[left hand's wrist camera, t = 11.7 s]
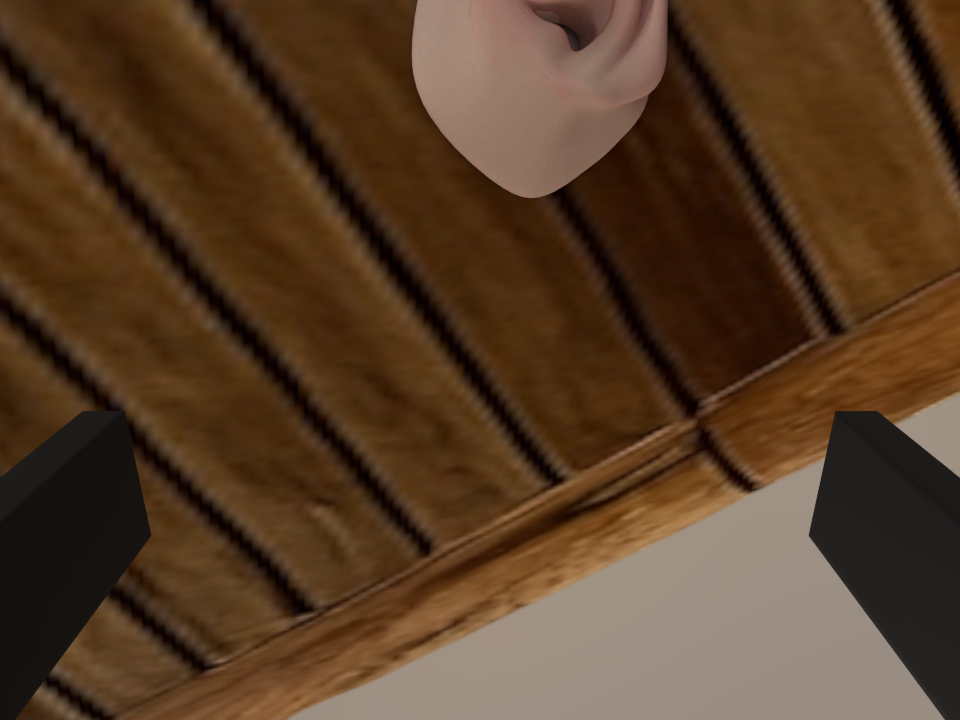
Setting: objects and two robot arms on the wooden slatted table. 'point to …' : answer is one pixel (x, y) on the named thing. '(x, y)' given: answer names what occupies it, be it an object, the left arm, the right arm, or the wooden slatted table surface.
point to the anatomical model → (537, 81)
